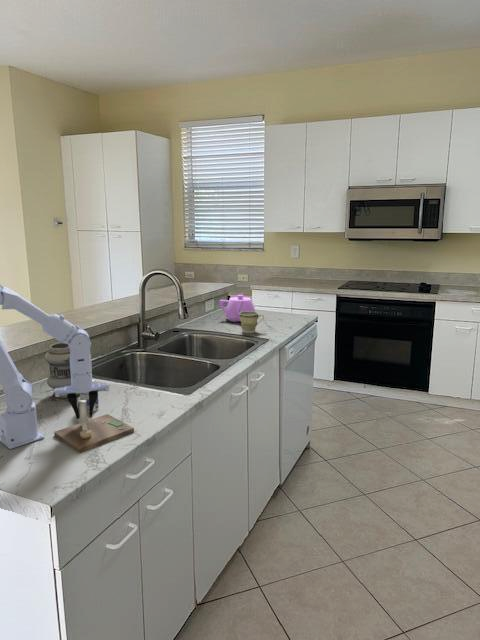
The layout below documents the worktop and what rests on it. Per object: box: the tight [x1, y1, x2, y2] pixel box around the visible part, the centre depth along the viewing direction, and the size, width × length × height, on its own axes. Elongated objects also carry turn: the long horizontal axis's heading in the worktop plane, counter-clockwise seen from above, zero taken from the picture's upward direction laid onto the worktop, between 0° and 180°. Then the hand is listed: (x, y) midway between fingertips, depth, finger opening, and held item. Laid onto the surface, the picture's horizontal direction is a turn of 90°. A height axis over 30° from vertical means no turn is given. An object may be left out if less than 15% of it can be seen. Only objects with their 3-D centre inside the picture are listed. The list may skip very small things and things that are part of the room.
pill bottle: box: [79, 378, 100, 414], centre depth 153 cm, size 5×5×10 cm
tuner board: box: [53, 413, 135, 453], centre depth 137 cm, size 17×14×1 cm
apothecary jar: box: [44, 341, 80, 401], centre depth 164 cm, size 12×12×18 cm
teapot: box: [218, 294, 256, 323], centre depth 278 cm, size 23×21×15 cm
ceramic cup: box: [239, 311, 265, 334], centre depth 254 cm, size 13×10×10 cm
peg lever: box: [77, 400, 92, 439], centre depth 135 cm, size 11×3×7 cm, turn 22°
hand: (84, 416), depth 139 cm, fingers open, 3 cm apart
